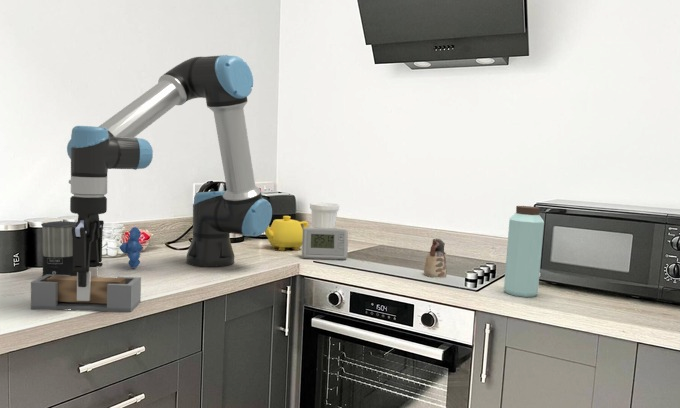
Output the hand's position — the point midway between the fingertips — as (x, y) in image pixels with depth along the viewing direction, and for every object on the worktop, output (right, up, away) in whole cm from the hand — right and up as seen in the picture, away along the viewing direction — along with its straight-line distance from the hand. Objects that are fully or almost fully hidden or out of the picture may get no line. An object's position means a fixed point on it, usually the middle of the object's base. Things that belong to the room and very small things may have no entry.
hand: (87, 297), depth 129 cm
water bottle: (+109, -5, +34) cm, 115 cm away
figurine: (+88, -2, +52) cm, 102 cm away
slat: (0, -1, 0) cm, 1 cm away
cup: (+50, +6, +110) cm, 121 cm away
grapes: (-5, +2, +41) cm, 42 cm away
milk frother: (-18, +2, +29) cm, 34 cm away
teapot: (+36, +4, +86) cm, 93 cm away
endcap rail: (0, -2, 0) cm, 2 cm away
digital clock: (+52, +2, +71) cm, 88 cm away
